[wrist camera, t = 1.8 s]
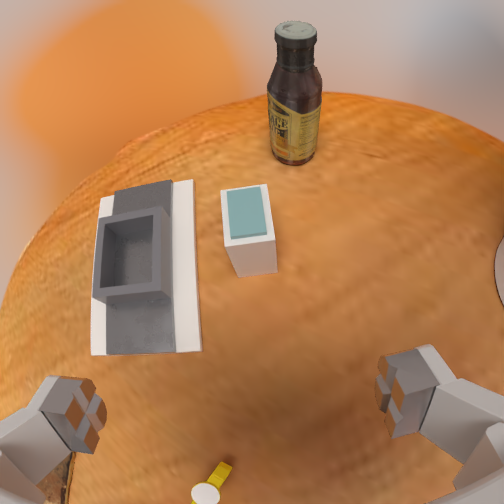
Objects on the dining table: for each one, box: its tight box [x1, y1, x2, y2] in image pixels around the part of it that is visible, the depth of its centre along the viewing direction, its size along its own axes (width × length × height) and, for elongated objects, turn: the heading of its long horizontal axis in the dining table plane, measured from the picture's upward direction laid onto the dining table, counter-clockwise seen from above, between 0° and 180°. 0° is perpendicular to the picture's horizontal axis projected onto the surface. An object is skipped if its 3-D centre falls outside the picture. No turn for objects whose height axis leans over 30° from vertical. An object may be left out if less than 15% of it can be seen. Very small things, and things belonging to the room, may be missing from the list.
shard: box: [36, 451, 75, 504], centre depth 28 cm, size 11×8×2 cm
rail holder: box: [91, 179, 203, 356], centre depth 36 cm, size 14×22×5 cm, turn 6°
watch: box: [191, 462, 232, 504], centre depth 25 cm, size 6×3×6 cm, turn 150°
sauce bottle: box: [267, 21, 322, 165], centre depth 34 cm, size 6×6×20 cm
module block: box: [221, 184, 278, 278], centre depth 33 cm, size 4×6×10 cm
